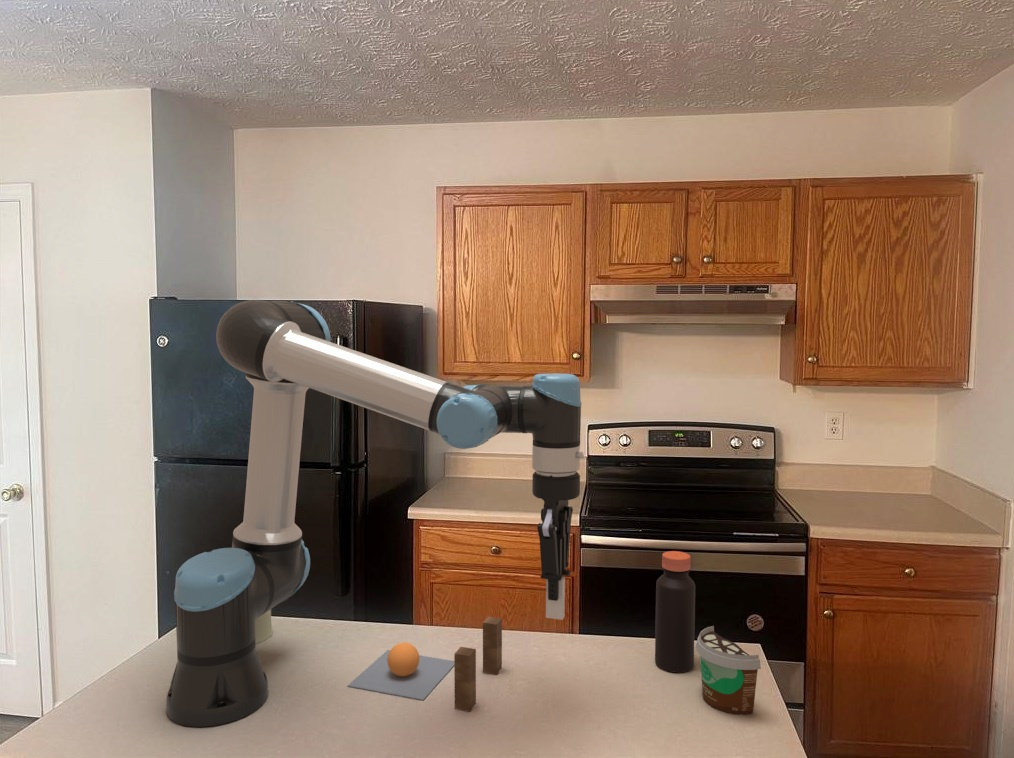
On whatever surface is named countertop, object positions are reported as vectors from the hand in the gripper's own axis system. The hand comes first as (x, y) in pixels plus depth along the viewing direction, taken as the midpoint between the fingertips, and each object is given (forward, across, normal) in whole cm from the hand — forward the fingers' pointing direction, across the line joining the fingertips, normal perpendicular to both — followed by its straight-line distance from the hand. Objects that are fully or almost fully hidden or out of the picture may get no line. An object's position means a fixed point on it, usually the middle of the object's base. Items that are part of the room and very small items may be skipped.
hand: (555, 616), depth 115 cm
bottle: (+14, +19, -17) cm, 29 cm away
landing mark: (+14, 0, +27) cm, 30 cm away
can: (+14, +4, +63) cm, 65 cm away
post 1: (+14, -6, +13) cm, 20 cm away
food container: (+14, +8, -25) cm, 30 cm away
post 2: (+14, +6, +13) cm, 20 cm away
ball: (+11, 0, +27) cm, 29 cm away
